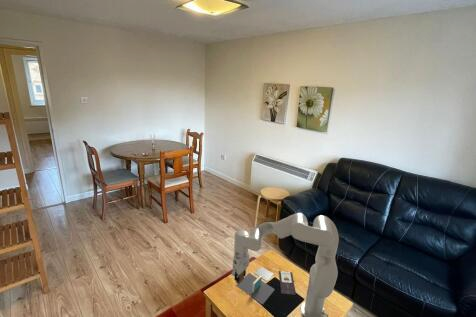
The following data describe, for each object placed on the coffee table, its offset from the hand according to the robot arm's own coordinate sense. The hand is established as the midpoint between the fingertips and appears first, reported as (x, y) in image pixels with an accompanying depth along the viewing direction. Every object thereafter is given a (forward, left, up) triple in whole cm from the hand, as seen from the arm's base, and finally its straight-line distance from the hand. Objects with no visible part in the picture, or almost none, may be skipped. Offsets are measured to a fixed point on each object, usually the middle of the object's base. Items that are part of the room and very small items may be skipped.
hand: (240, 277), depth 139 cm
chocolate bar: (-17, -29, -15) cm, 36 cm away
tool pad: (-2, -25, -15) cm, 29 cm away
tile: (-5, -12, -14) cm, 19 cm away
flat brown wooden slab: (0, 0, -3) cm, 3 cm away
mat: (-4, -12, -15) cm, 19 cm away
